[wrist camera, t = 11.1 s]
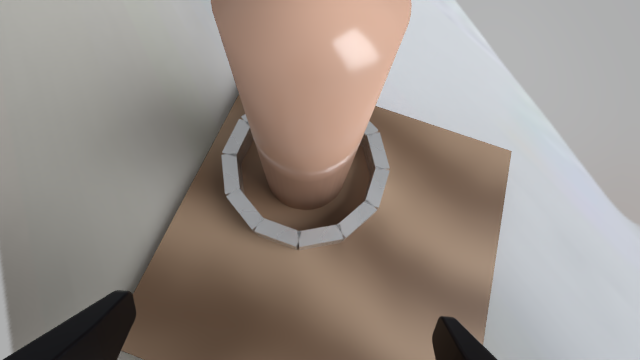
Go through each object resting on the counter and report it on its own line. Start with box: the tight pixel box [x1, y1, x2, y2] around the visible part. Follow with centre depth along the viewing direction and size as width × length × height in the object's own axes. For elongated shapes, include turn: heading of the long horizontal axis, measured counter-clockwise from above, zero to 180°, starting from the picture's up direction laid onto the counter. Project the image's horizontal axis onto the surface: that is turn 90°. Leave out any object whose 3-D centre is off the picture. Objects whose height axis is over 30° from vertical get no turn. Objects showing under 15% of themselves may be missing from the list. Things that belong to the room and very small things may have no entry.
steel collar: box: [221, 114, 390, 250], centre depth 18 cm, size 9×9×2 cm
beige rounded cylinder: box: [211, 0, 411, 210], centre depth 13 cm, size 5×5×12 cm
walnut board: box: [121, 95, 511, 360], centre depth 18 cm, size 18×18×1 cm
